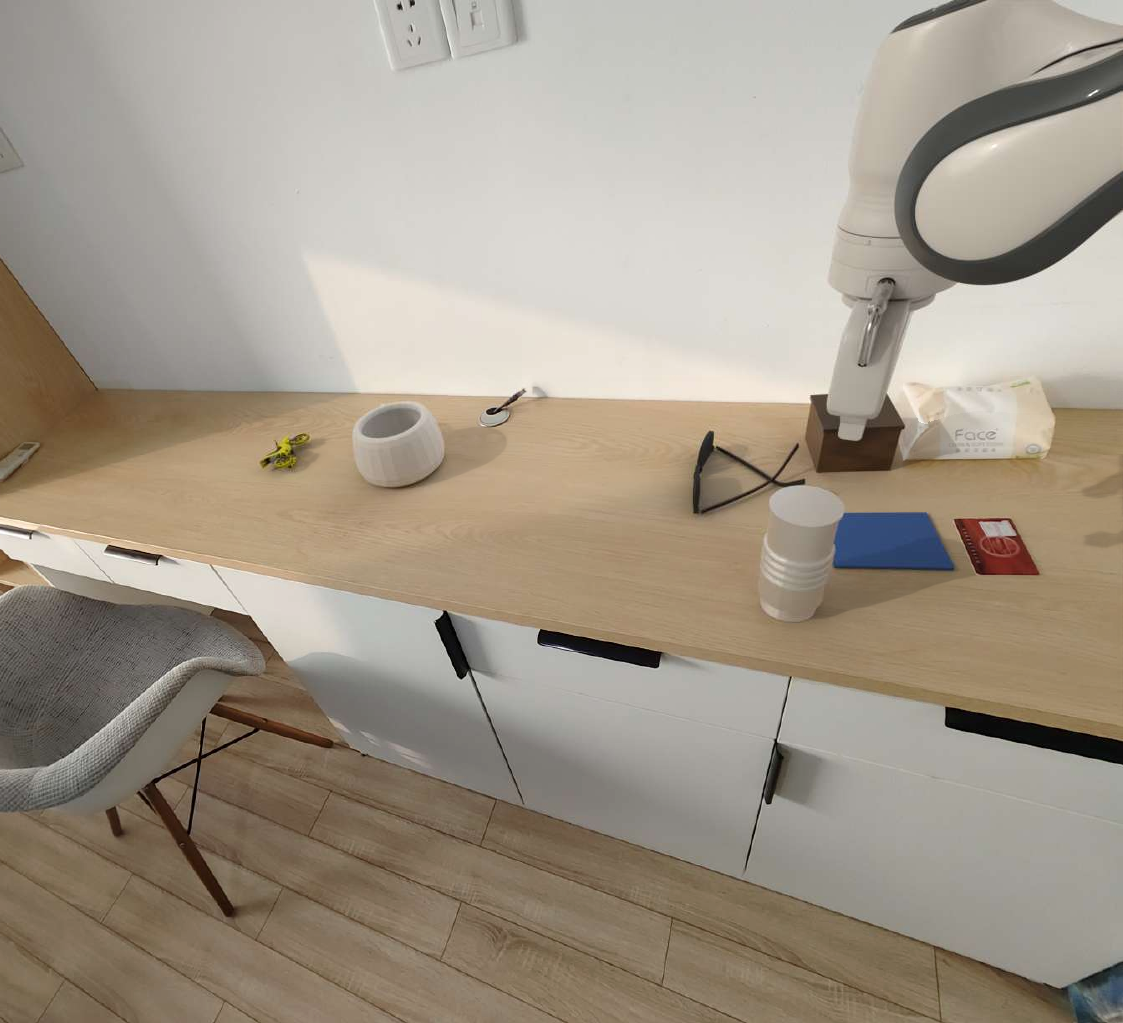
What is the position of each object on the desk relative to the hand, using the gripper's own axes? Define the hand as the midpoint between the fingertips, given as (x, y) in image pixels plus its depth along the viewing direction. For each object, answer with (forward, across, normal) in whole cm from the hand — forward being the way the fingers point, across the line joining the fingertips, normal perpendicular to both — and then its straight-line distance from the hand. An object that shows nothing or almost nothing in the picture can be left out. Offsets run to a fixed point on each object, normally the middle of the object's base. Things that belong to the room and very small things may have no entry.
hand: (860, 408), depth 56 cm
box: (+26, +30, +2) cm, 39 cm away
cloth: (+25, +12, -5) cm, 28 cm away
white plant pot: (+26, +6, +70) cm, 75 cm away
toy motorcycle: (+26, -1, +95) cm, 99 cm away
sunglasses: (+26, +18, +13) cm, 34 cm away
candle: (+26, -3, +2) cm, 26 cm away
